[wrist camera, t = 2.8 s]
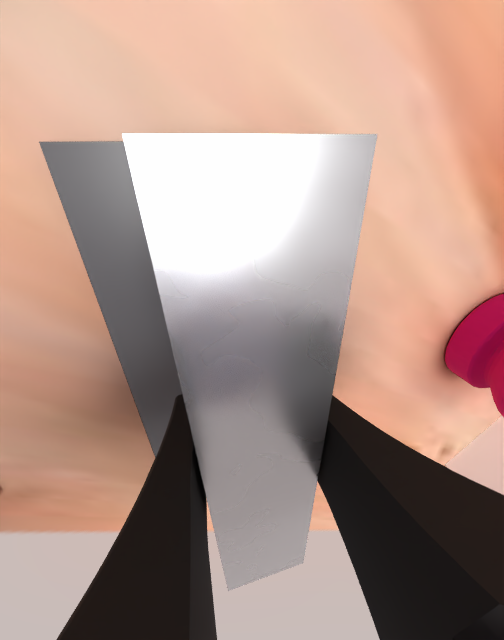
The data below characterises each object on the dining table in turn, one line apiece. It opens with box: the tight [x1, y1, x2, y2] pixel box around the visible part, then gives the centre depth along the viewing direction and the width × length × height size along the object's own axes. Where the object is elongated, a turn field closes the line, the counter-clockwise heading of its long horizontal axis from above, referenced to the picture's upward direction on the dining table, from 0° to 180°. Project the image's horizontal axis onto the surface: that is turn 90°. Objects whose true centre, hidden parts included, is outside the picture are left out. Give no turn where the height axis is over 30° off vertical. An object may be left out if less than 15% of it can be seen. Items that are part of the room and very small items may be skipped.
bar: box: [122, 134, 377, 591], centre depth 9 cm, size 4×16×5 cm, turn 2°
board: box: [39, 142, 182, 458], centre depth 12 cm, size 9×17×1 cm, turn 2°
